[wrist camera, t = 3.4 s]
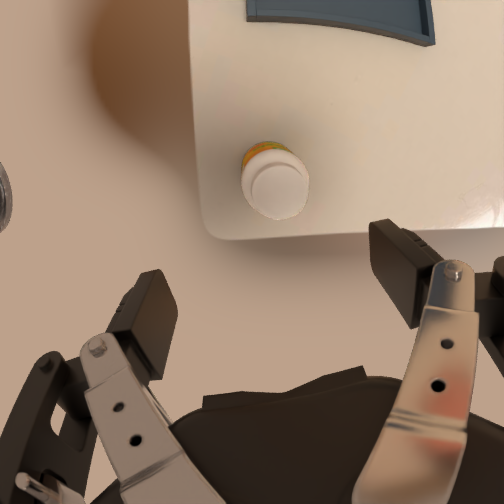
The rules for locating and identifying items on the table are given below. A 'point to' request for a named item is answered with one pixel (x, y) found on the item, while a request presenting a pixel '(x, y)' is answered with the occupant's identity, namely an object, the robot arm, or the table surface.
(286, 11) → the tray
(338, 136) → the table surface
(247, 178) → the supplement bottle
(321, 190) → the table surface
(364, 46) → the table surface
